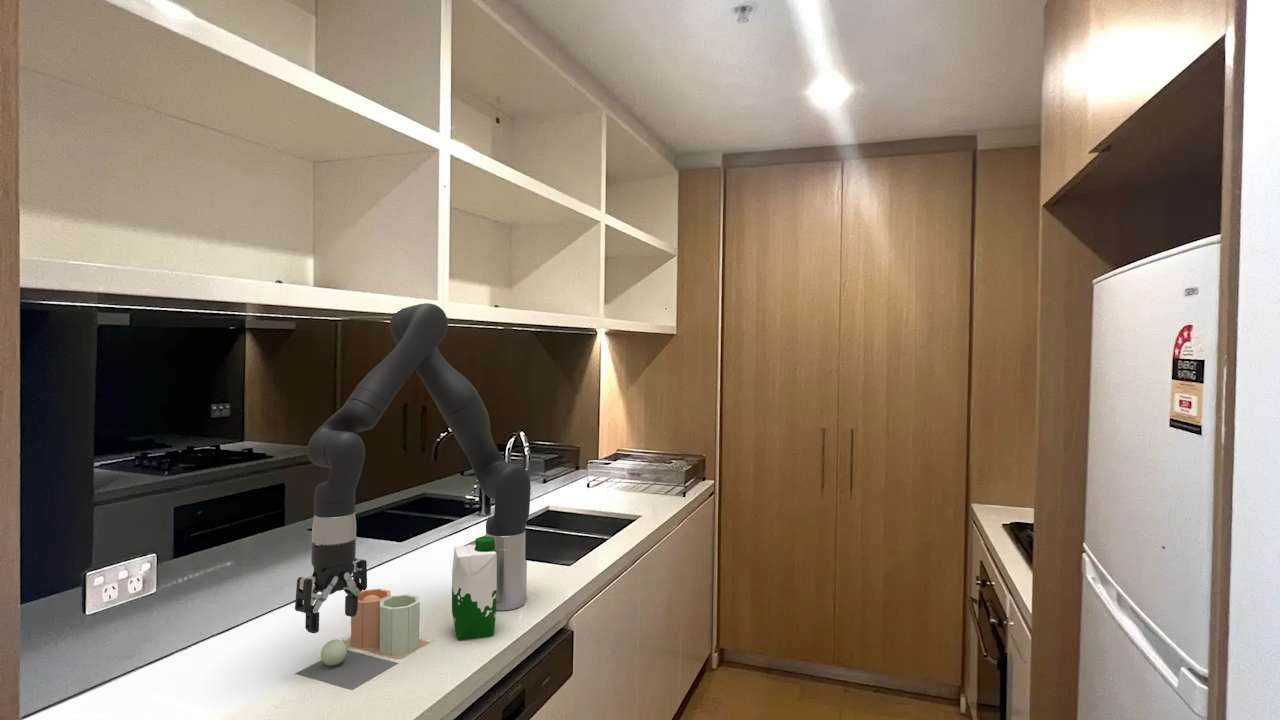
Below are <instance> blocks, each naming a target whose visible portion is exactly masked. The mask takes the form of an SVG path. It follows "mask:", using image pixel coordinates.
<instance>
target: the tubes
mask: <svg viewBox="0 0 1280 720" xmlns="http://www.w3.org/2000/svg"><path fill="white" fill-rule="evenodd" d="M369 595H376V596H378V597H380V598H381V599H379V600H373V601H365V602H364V601H362V600H363V599H364V598H365V597H367V596H369ZM420 602H421V601H420V597H419V596H417V595H413V594H407V593H405V594H397V595H392V593H391V590H388V589H383V588H374V589H373V588H372V589H366V590H362V591H361V592H360V594H359V596H358V609H357V612H356V615H355V616H353V617H350V637H349V638H348V639H346V640H344V641H343V640H342V641H343V642H344V643H345V645H346V647H347V648H348V647H349V648H352V649H357V650H361V651H365V652H368V653H371V654H377V655H380V656H385V657H389V658H393V659H396V660H400V661H401V660H402V659H404V658H406V657H408V656H409V655H412V653H414V652H416V651H418V650H420V649H422V648H424V647H425V646H427V645H428V644H430V643H431V641H427V640H423V639H420V620H421V619H420V613H421V612H420V611H421V610H420V608H421V603H420Z"/></svg>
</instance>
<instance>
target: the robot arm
mask: <svg viewBox="0 0 1280 720" xmlns="http://www.w3.org/2000/svg"><path fill="white" fill-rule="evenodd" d="M400 309H401V310H400ZM400 309H399V310H400V311H398V310H397V311H398V312H397V313H395V312H394V313H393V314H392V316H391V318H390V321H389V328H390V333H391V336H392V338H393V340H394V342H395V343H396V346H394V348H393V349H392V351H391V352H390V353H388V354H387V356H386V357H385V358H383V360H381V361H380V362H379V363H378V364H377V365H375V366H374V367H373V368H372V369H371V370H370V371H369V372H368V373H367V374H366V375H365V376H364V377H363V379H362V380H361V381H360V382H359V383H358V384H357V386H356V387H355V388H354V390H353V391H352V393H351V394H350V396H349V397H348V399H346V401H345V402H344V404H343V406H342V407H341V408H340V409H339V410H337V411H335V413H333V414H332V415H331V416H330V417H329V418H328V419H327V420H326V421H325V422H323V423H322V424H321V426H319V427H318V428H317V429H316V431H314V433H313V435H312V436H311V438H310V439H309V442H308V444H307V453H306V454H307V458H308V459H309V461H310V463H312V465H314V466H317V467H321V468H328V469H330V470H329V474H328V478H327V480H326V481H322V482H320V483H319V484H317V485H316V487H315V490H314V497H313V499H314V501H313V502H314V503H313V504H314V505H313V518H312V519H313V520H312V527H311V529H312V530H311V559H310V561H311V565H312V567H313V572H312V574H311V576H310V575H309V576H307V577H305V576H304V577H302V576H299V577H298V578H297V580H296V587H295V588H296V590H295V591H296V592H295V603H294V605H295V606H294V610H295V611H296V612H300V613H304V614H305V624H304V626H305V630H306V631H307V632H308V633H311V634H317V633H319V631H320V611H319V610H320V608H321V606H322V605H323V603H324V602H326V601H327V600H328V598H329V595H330V596H331V595H333V594H335V593H336V592H339V591H340V592H341V591H343V592H344V593H345V594H346V595H345V598H344V599H345V600H344V602H345V603H344V614H345V616H347V617H350V618H351V617H353V616H355V615H356V612H357V609H358V596H359V594H360V592H361V591H364V590H367V588H368V571H367V569H368V568H367V567H368V564H367V563H368V562H367V560H366V559H361V558H357V557H356V552H357V551H356V547H357V543H356V542H357V519H356V490H357V487H358V484H359V481H360V478H361V474H362V470H363V467H364V464H365V459H366V448H365V444H364V442H363V439H362V438H361V437H360V435H358V434H359V433H362V432H365V431H369V430H371V429H373V428H374V427H375V426H376V424H378V422H379V421H380V419H381V418H382V416H383V414H384V413H385V412H386V410H387V408H388V407H389V405H390V404H391V402H392V401H393V400H394V398H395V397H396V395H397V394H398V392H399V391H400V389H401V388H402V387H403V386H404V384H405V383H406V381H407V380H408V379H409V378H410V376H412V374H413V373H414V372H415V371H416V373H417V374H418V376H419V378H420V379H421V381H422V383H423V384H424V386H425V388H426V390H427V391H428V393H429V394H430V397H431V398H432V400H433V401H434V404H435V405H436V407H437V409H438V410H439V412H440V414H441V416H442V418H443V420H444V421H445V423H446V425H447V427H448V428H449V429H450V432H452V434H453V436H454V438H455V440H456V441H457V443H458V445H459V446H460V448H461V449H462V450H463V453H464V454H465V456H466V457H467V459H468V461H469V463H470V466H471V467H472V470H473V472H474V475H475V478H476V479H477V482H478V484H479V487H480V489H481V490H482V492H483V493H484V494H485V495H486V496H487V497H488V498H489V499H491V500H493V501H494V511H493V512H494V514H493V515H492V516H490V517H489V518H487V520H486V522H485V537H494V538H495V548H496V554H497V592H496V611H510V610H515V609H518V608H521V607H522V606H523V605H524V604H525V602H526V601H525V600H527V572H528V571H527V568H528V561H527V559H526V531H527V530H526V524H527V522H528V520H529V516H530V505H531V489H532V487H531V478H530V475H529V473H528V471H527V470H526V469H525V468H524V467H523V466H522V465H521V466H520V465H519V464H514V463H510V462H508V461H507V460H506V459H505V458H504V457H503V455H502V454H501V452H500V451H499V449H498V447H497V446H496V443H495V442H494V439H493V436H492V430H491V422H490V416H489V412H488V410H487V408H486V405H485V404H484V402H483V400H482V397H481V396H480V394H479V392H478V391H477V389H476V387H475V386H474V385H473V384H472V383H471V382H470V381H469V380H468V379H467V378H466V377H465V376H464V375H463V374H462V373H460V372H459V371H458V370H457V369H456V368H454V367H453V366H452V365H451V364H450V363H449V362H448V361H447V360H446V359H445V358H444V356H443V355H442V354H441V352H440V351H439V348H438V345H440V343H441V342H442V341H443V340H444V339H445V336H446V335H447V332H448V330H449V329H448V328H449V320H448V317H447V315H446V312H445V311H444V310H443V309H442V308H441V306H438V305H437V304H434V303H428V302H427V303H418V304H415V305H410V306H408V307H407V306H406V307H403V308H400ZM351 576H352V577H351ZM319 592H320V594H319Z"/></svg>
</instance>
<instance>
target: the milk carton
mask: <svg viewBox="0 0 1280 720" xmlns="http://www.w3.org/2000/svg"><path fill="white" fill-rule="evenodd" d="M453 550H454V551H453V552H454V553H453V559H452V570H451V571H452V572H451V573H452V574H451V614H452V620H453V625H454V629H455V635H456V640H457V641H458V642H462V641H469V640H476V639H483V638H490V637H494V636H495V627H496V617H497V610H496V592H497V554H496V548H495V538H494V537H486V536H480V537H477V538H475V544H467V545H462V546H459V545H458V546H454V549H453Z"/></svg>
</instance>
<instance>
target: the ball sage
mask: <svg viewBox="0 0 1280 720" xmlns="http://www.w3.org/2000/svg"><path fill="white" fill-rule="evenodd" d="M347 650H348V646H346V645H345V643H344V642H343V640H340V639H331V640H328V641H327V642H326V643H325V644H324V645H323V646H322V647H321V651H320V660H322V661H323V662H324V663H325V664H326V665H329V666H334V665H337V664H339V663H341V662H342V661H343V660H344V658H345V657H346V654H347Z"/></svg>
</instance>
